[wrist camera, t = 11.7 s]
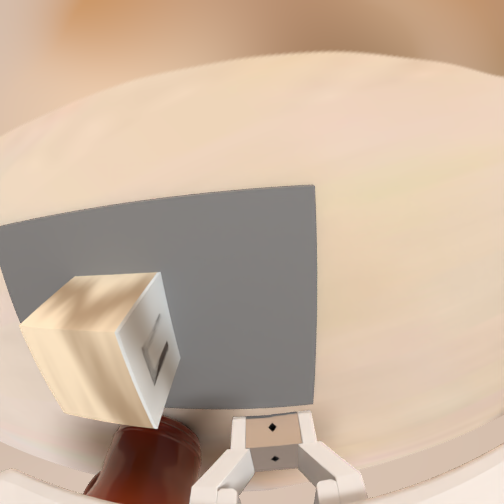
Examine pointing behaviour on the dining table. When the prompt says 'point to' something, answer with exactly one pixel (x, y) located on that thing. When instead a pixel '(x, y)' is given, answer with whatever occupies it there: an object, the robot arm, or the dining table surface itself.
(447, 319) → the dining table surface
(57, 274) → the mat
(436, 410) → the dining table surface
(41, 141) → the dining table surface
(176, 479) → the mug
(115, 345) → the letter block
